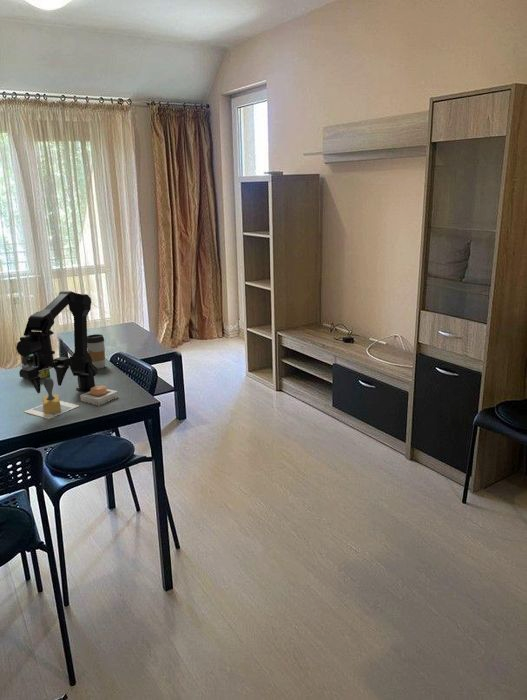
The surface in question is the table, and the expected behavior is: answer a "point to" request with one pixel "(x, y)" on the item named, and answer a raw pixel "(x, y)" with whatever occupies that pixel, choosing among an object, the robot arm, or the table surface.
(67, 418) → the table surface
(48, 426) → the table surface
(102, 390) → the button
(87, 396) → the button housing
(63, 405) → the paper sheet
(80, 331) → the robot arm
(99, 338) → the coffee cup
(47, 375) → the chalk box
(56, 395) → the rubber stamp
